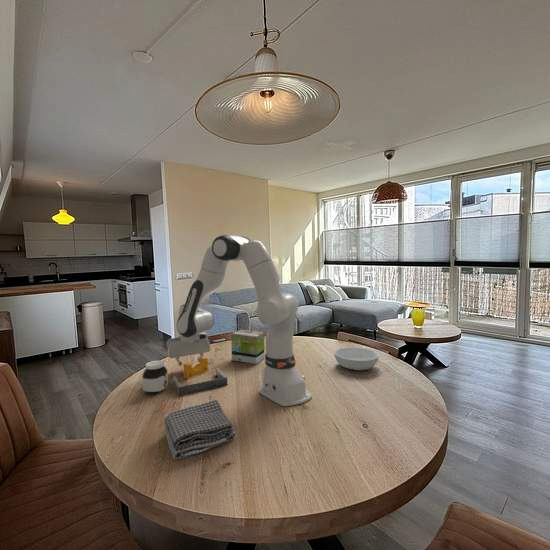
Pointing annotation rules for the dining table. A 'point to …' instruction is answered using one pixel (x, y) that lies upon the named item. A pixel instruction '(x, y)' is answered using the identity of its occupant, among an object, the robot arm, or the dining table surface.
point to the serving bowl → (356, 358)
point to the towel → (197, 429)
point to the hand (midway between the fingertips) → (189, 363)
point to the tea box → (247, 346)
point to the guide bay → (201, 384)
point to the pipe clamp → (196, 368)
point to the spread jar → (154, 377)
